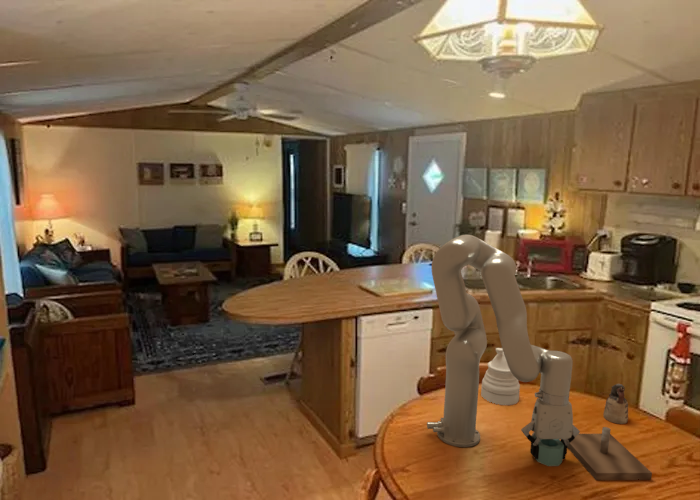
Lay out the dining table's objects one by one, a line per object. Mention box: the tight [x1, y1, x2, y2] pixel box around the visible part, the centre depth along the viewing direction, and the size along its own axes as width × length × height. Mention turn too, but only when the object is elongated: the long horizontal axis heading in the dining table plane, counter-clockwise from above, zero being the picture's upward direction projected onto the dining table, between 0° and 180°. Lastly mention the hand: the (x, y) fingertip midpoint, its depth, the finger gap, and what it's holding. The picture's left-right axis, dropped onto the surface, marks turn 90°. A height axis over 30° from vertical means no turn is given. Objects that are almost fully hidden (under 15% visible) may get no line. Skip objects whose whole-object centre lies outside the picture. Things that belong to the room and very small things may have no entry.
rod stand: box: [567, 426, 653, 481], centre depth 145 cm, size 15×20×9 cm
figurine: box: [603, 383, 629, 425], centre depth 168 cm, size 7×7×12 cm
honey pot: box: [480, 347, 521, 406], centre depth 182 cm, size 13×13×18 cm
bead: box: [535, 439, 564, 467], centre depth 144 cm, size 7×7×5 cm
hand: (548, 456), depth 144 cm, fingers closed on bead, 7 cm apart
